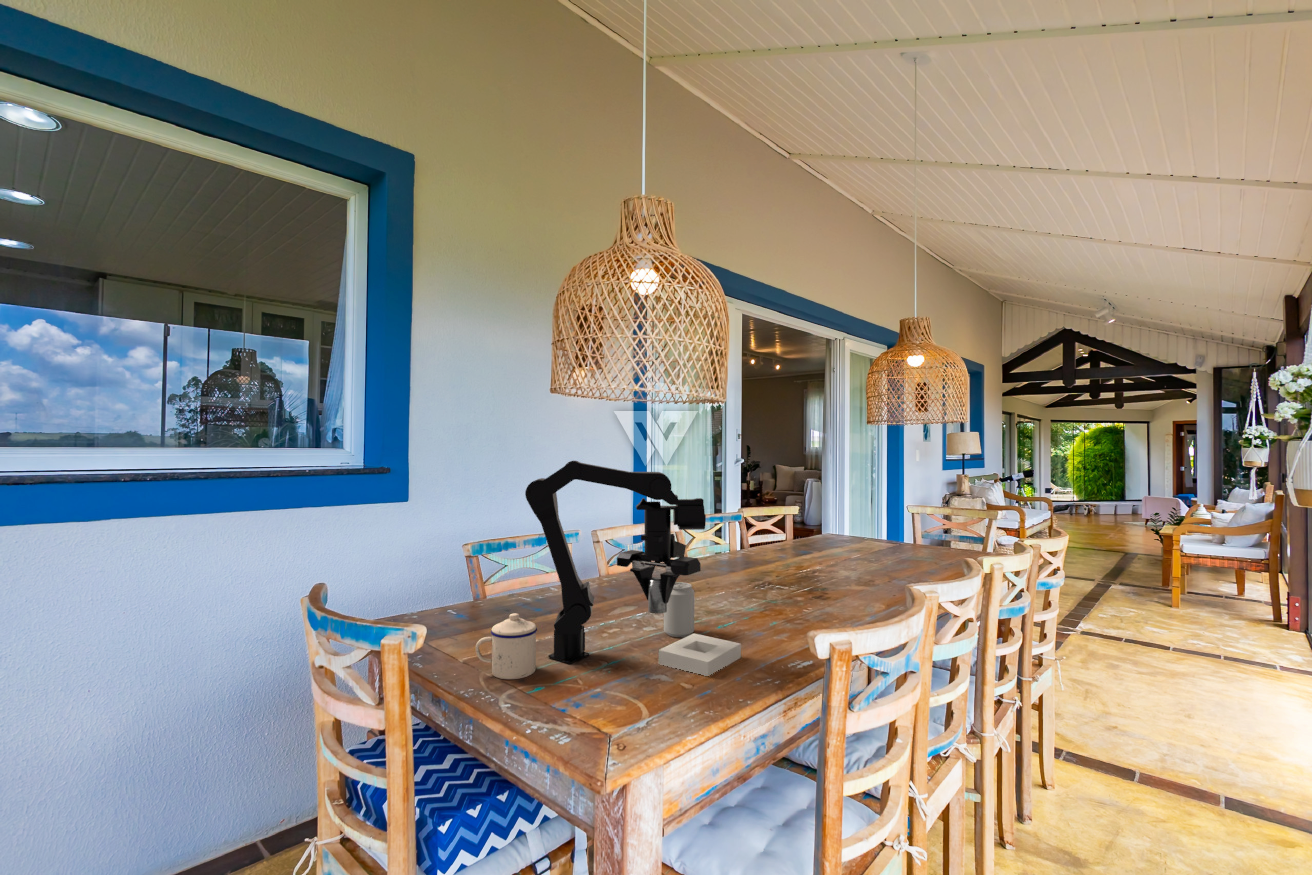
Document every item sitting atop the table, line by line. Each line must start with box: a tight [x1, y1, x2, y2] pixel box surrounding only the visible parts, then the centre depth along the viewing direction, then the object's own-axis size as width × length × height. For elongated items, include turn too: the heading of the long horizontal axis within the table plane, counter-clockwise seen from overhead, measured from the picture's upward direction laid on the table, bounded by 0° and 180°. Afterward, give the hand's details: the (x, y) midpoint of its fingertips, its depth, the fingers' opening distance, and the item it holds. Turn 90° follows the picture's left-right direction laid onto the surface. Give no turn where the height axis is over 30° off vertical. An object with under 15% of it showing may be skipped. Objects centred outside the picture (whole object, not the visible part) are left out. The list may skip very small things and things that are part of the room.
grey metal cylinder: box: [647, 576, 667, 615], centre depth 136 cm, size 4×4×7 cm
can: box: [663, 581, 695, 638], centre depth 152 cm, size 8×8×12 cm
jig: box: [658, 633, 742, 677], centre depth 134 cm, size 14×12×3 cm
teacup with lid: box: [475, 612, 538, 680], centre depth 126 cm, size 12×9×12 cm
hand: (657, 601), depth 136 cm, fingers closed on grey metal cylinder, 4 cm apart
